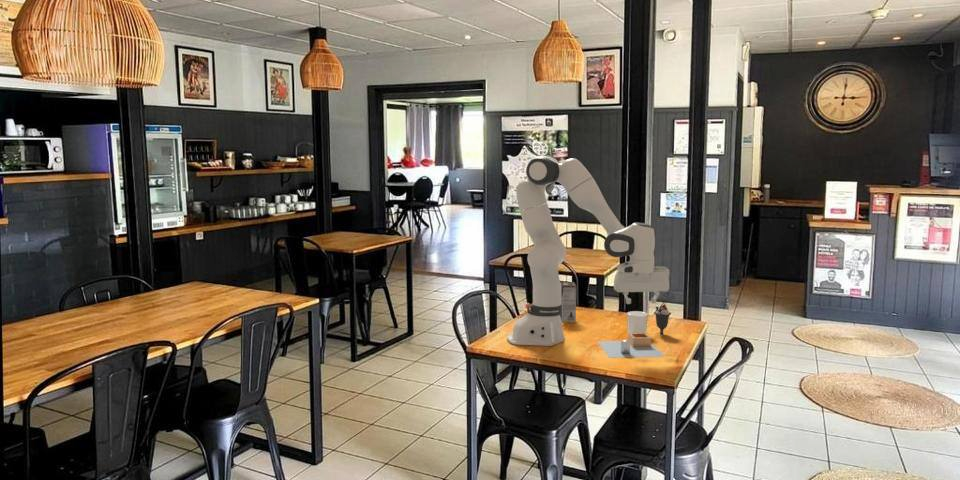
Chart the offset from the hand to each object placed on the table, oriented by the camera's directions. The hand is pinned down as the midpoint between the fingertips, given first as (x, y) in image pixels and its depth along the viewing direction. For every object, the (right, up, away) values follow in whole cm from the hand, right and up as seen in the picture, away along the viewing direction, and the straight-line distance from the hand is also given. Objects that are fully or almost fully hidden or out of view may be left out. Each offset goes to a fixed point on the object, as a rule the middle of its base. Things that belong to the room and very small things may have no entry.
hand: (641, 303), depth 246 cm
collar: (0, -16, +2) cm, 16 cm away
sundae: (+12, -15, +17) cm, 26 cm away
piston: (-8, -17, -8) cm, 20 cm away
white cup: (+2, -16, +16) cm, 23 cm away
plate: (-5, -18, -3) cm, 19 cm away
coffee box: (-21, -12, +46) cm, 52 cm away
